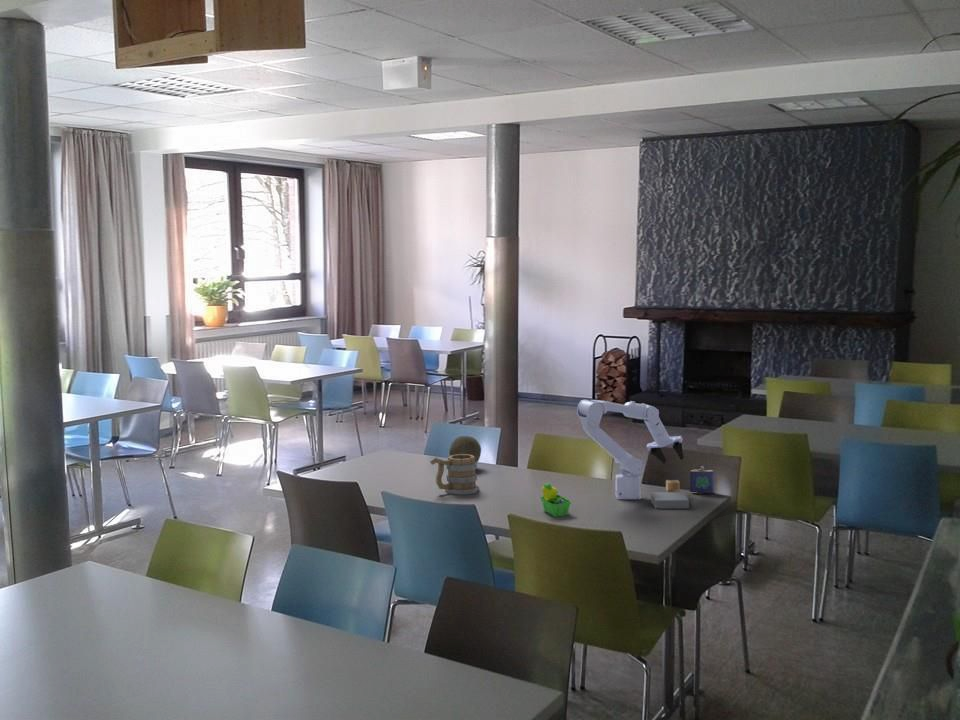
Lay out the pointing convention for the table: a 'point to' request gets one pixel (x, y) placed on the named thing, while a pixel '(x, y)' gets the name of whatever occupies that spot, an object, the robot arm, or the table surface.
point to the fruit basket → (554, 501)
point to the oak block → (672, 486)
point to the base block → (669, 500)
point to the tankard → (457, 474)
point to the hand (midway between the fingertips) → (673, 460)
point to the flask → (702, 481)
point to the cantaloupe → (466, 447)
